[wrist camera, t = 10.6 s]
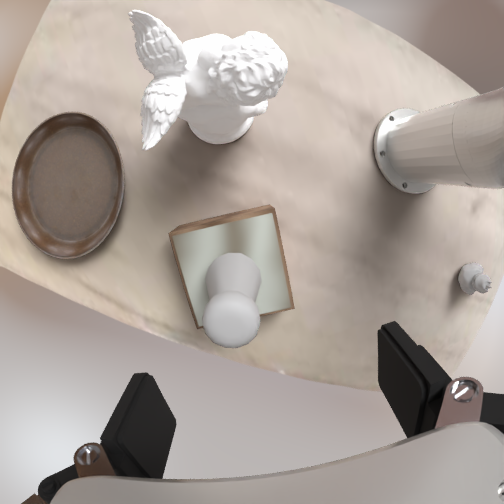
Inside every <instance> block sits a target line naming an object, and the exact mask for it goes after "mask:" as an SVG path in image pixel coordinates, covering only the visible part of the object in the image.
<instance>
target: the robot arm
mask: <svg viewBox="0 0 504 504" xmlns="http://www.w3.org/2000/svg"><path fill="white" fill-rule="evenodd" d="M389 119H390V120H389ZM374 152H375V158H376V161H377V164H378V166H379V168H380V170H381V172H382V174H383V175H384V177H385V178H386V179H387V181H388V182H390V183H391V184H392V185H393V186H394V187H396V188H397V189H398V190H401V191H403V192H406V193H413V194H419V193H424V192H426V191H428V190H430V189H432V188H433V187H434V186H435V185H436V184H441V185H455V186H467V187H477V188H488V189H500V188H504V87H503V88H500V89H498V90H495V91H492V92H488V93H485V94H482V95H479V96H475V97H471V98H468V99H464V100H461V101H457V102H454V103H451V104H447V105H444V106H441V107H437V108H434V109H431V110H428V111H425V112H419V111H417V110H414V109H411V108H401V109H396V110H394V111H391V112H390V113H388V114H386V115H385V116H384V117H383V118H382V119H381V121H380V123H379V124H378V126H377V129H376V132H375V137H374ZM380 153H381V156H380ZM402 184H403V186H402ZM378 382H379V386H380V388H381V390H382V392H383V393H384V395H385V397H386V399H387V401H388V402H389V404H390V406H391V408H392V410H393V412H394V414H395V415H396V417H397V419H398V421H399V423H400V425H401V427H402V428H403V431H404V432H405V434H406V436H407V439H404V440H401V441H399V442H396V443H393V444H390V445H387V446H384V447H381V448H378V449H375V450H372V451H368V452H365V453H362V454H359V455H355V456H352V457H348V458H345V459H341V460H337V461H333V462H329V463H325V464H320V465H316V466H311V467H306V468H301V469H296V470H290V471H284V472H279V473H272V474H264V475H255V476H246V477H236V478H219V479H162V478H163V473H164V470H165V466H166V462H167V458H168V455H169V451H170V447H171V443H172V439H173V436H174V432H175V428H176V419H175V417H174V415H173V414H172V412H171V410H170V408H169V406H168V404H167V403H166V401H165V399H164V397H163V395H162V393H161V391H160V389H159V388H158V385H157V383H156V381H155V379H154V378H153V376H151V375H149V374H148V373H135V374H134V375H133V376H132V378H131V380H130V382H129V384H128V385H127V387H126V389H125V391H124V393H123V395H122V397H121V399H120V401H119V403H118V404H117V406H116V408H115V410H114V412H113V414H112V416H111V418H110V420H109V422H108V424H107V426H106V428H105V430H104V431H103V433H102V435H101V437H100V439H101V440H102V441H101V443H100V444H98V443H87V444H84V445H83V446H81V447H80V448H79V449H77V451H76V452H75V455H74V463H75V464H74V465H72V466H70V467H68V468H66V469H64V470H62V471H60V472H58V473H55V474H53V475H51V476H49V477H47V478H45V479H44V480H43V481H42V482H41V483H40V485H39V487H38V495H36V494H33V495H32V496H30V497H29V498H28V499H27V500H25V501H24V502H23V503H22V504H504V394H495V393H485V392H483V386H482V384H481V383H480V382H479V381H478V380H476V379H474V378H471V377H460V378H456V379H455V380H452V379H451V378H450V377H449V376H448V374H447V373H446V372H445V371H444V370H443V369H442V367H441V366H440V365H439V364H438V363H437V362H436V361H435V359H434V358H433V357H432V356H431V355H430V354H429V353H428V352H427V350H426V349H425V348H424V347H423V346H421V345H418V346H417V344H416V343H415V342H414V341H413V340H412V339H411V338H410V337H409V335H408V334H407V333H406V332H405V331H404V330H403V329H402V328H401V327H400V326H399V324H398V323H397V322H396V321H393V322H390V323H387V324H384V325H382V326H381V329H380V330H378Z"/></svg>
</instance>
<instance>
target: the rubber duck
mask: <svg viewBox="0 0 504 504" xmlns="http://www.w3.org/2000/svg"><path fill="white" fill-rule="evenodd" d="M458 282H459V283H460V287H461V289H462V290H463V291H464V292H465V293H467V294H469V295H472V294H473V293H474V292H475V291H478V292H480V293H485V292H488V288H491V286H490V283H491V280H490V278H489V276H488V275H486V274H483V267H482V266H481V265H480V264H478V263H475V262H472V263H469V264H465V265H464V266H463V267H462V269H461V271H460V273H459V277H458Z"/></svg>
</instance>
